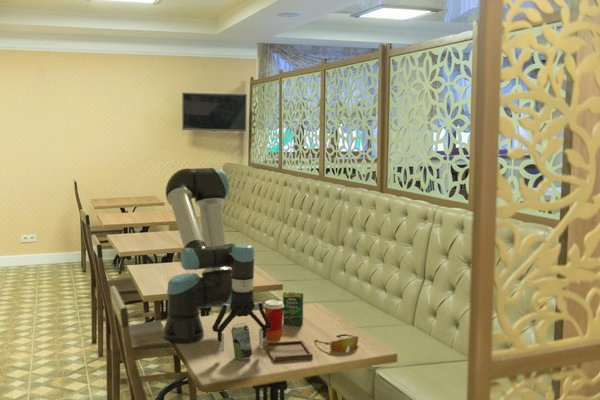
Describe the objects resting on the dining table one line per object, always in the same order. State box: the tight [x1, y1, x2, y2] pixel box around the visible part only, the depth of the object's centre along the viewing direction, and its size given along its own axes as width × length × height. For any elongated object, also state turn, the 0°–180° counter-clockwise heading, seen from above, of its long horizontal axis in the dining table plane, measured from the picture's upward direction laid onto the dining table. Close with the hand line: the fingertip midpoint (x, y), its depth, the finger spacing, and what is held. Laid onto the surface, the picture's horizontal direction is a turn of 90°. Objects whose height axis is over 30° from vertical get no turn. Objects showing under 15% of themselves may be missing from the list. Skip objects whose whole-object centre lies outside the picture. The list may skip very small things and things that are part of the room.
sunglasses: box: [314, 333, 359, 352], centre depth 243 cm, size 14×15×5 cm
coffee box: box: [282, 291, 304, 327], centre depth 263 cm, size 8×3×13 cm, turn 70°
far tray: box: [264, 339, 313, 363], centre depth 233 cm, size 14×14×2 cm
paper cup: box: [263, 299, 284, 342], centre depth 247 cm, size 8×8×14 cm
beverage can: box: [231, 322, 253, 360], centre depth 227 cm, size 6×7×12 cm
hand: (241, 348), depth 227 cm, fingers open, 13 cm apart
